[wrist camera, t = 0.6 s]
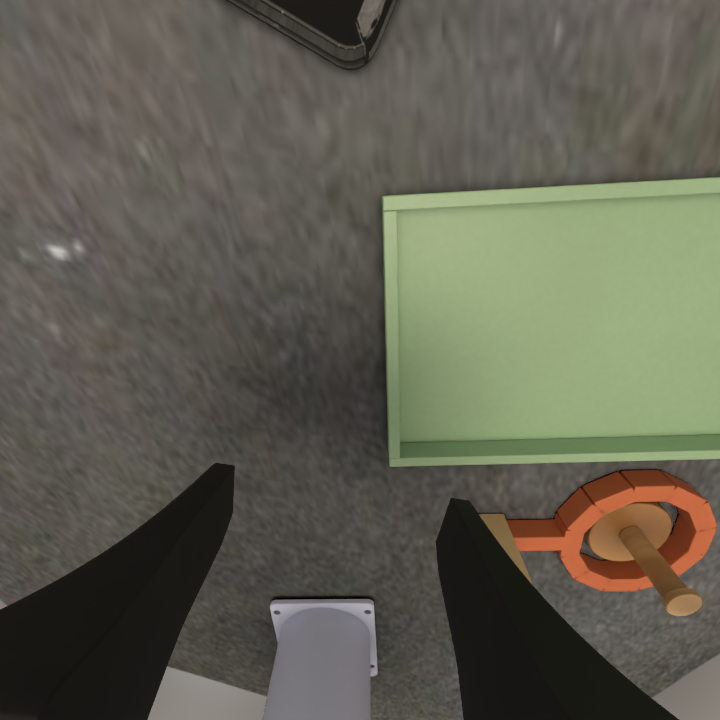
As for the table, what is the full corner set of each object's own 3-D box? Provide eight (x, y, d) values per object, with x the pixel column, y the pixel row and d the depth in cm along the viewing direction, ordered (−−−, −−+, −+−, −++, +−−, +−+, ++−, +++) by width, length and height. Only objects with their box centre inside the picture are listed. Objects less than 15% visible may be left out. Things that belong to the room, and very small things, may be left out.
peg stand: (652, 551, 26) (718, 635, 21) (576, 552, 27) (623, 635, 22) (673, 493, 24) (752, 571, 19) (590, 495, 25) (646, 573, 20)
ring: (674, 570, 27) (751, 666, 22) (462, 573, 28) (485, 666, 22) (715, 467, 23) (821, 552, 18) (470, 473, 24) (500, 555, 19)
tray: (746, 436, 22) (779, 457, 21) (388, 445, 23) (389, 467, 22) (860, 169, 17) (920, 166, 15) (381, 195, 18) (382, 196, 16)
